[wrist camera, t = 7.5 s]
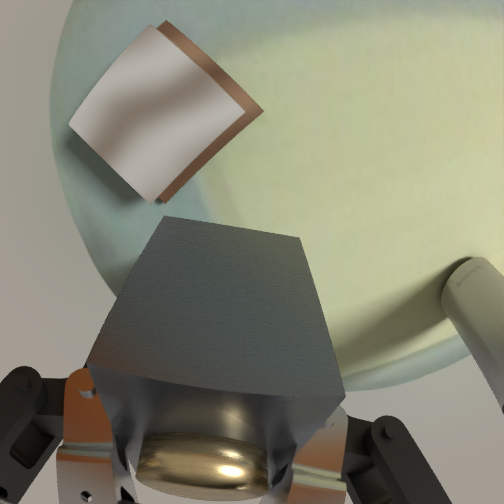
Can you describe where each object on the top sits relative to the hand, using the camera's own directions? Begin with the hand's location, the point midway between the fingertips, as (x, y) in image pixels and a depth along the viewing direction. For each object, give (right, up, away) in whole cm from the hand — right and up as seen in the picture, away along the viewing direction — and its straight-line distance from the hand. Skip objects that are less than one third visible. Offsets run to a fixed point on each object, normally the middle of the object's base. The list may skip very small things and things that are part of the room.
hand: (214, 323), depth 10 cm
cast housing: (0, 0, +1) cm, 1 cm away
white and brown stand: (-6, +15, +12) cm, 20 cm away
